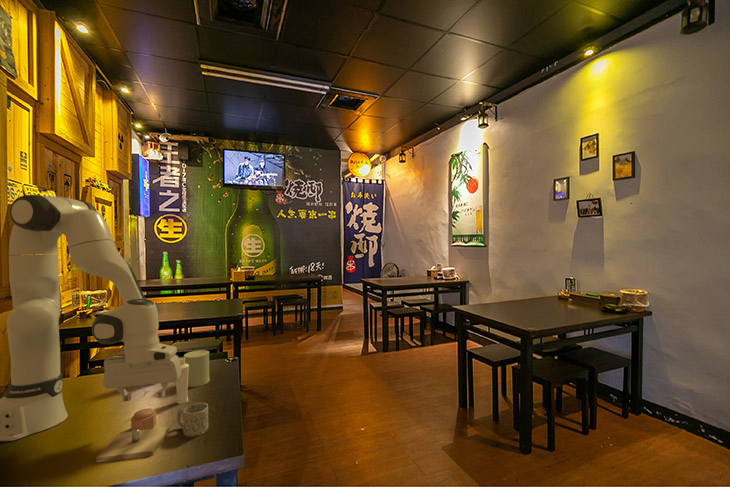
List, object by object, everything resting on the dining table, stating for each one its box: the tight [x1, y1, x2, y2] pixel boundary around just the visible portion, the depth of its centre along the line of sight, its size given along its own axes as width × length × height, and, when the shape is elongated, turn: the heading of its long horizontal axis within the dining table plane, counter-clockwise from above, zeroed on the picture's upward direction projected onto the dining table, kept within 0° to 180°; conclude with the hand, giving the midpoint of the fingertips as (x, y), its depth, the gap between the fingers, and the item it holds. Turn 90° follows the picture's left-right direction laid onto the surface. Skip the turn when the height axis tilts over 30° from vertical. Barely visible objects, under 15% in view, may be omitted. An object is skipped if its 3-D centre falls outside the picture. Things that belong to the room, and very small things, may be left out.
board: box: [95, 426, 171, 464], centre depth 93 cm, size 13×12×1 cm
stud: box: [132, 428, 140, 443], centre depth 93 cm, size 2×2×3 cm
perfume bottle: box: [175, 357, 189, 405], centre depth 119 cm, size 5×4×15 cm
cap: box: [130, 408, 157, 431], centre depth 102 cm, size 6×6×4 cm
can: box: [183, 349, 211, 388], centre depth 136 cm, size 9×9×12 cm
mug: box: [176, 402, 209, 438], centre depth 100 cm, size 10×7×7 cm, turn 73°
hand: (144, 398), depth 102 cm, fingers open, 8 cm apart
